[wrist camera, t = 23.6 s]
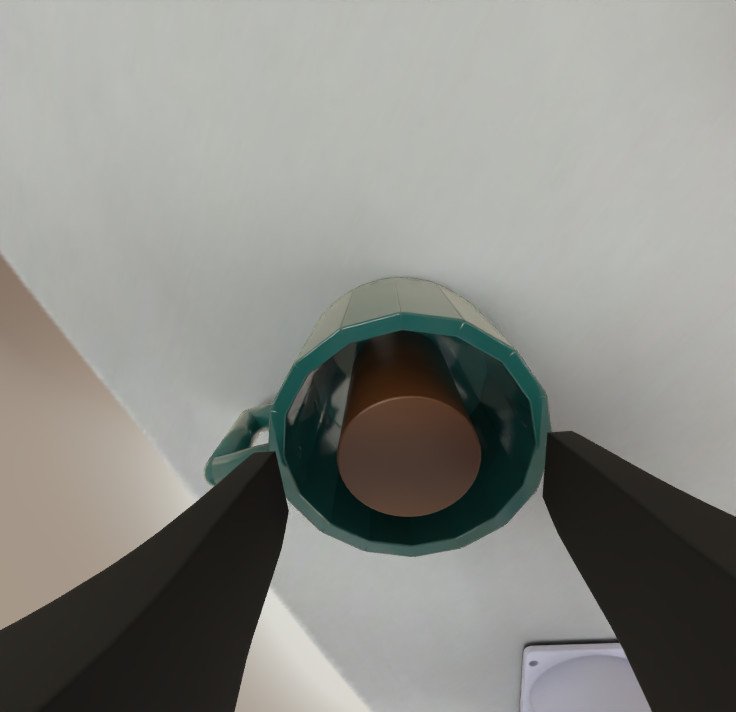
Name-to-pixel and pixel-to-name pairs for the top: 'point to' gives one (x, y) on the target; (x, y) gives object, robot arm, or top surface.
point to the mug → (327, 405)
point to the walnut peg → (406, 429)
